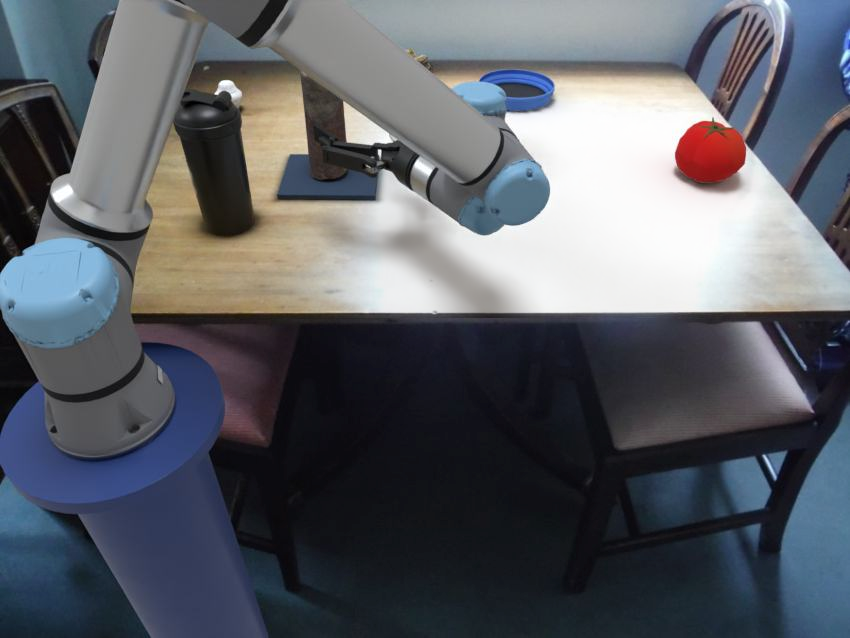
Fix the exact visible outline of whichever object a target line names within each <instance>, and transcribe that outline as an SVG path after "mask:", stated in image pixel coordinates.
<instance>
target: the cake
mask: <svg viewBox="0 0 850 638" xmlns="http://www.w3.org/2000/svg"><path fill="white" fill-rule="evenodd" d="M404 50H405V51H406V52H407V53H408V54H410V55H411V56H412V57H413V58H415V59H416V60H417V61H418V62H419V63H421V64H422V65H423V66H424V67H425V68H427V69H428V70H429V71H430V69H431V64H430V59H429V56H427V55H424V54H421V55H417V54H416V53H415V50H414V49H413V48H412V47H410V48H409V49H406V48H405V49H404Z"/></svg>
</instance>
